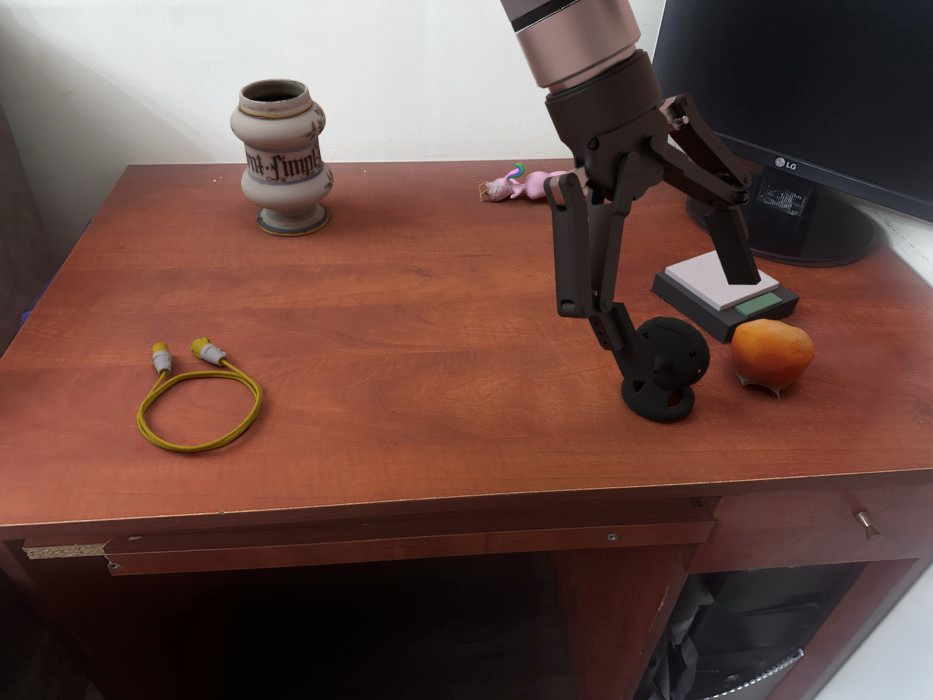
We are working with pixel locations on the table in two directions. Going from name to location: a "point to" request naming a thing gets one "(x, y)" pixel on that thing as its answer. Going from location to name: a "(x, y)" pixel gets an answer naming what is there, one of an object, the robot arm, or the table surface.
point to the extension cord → (208, 353)
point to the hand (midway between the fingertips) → (694, 328)
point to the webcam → (668, 368)
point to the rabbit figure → (517, 184)
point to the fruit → (770, 353)
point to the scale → (721, 296)
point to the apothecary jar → (283, 155)
